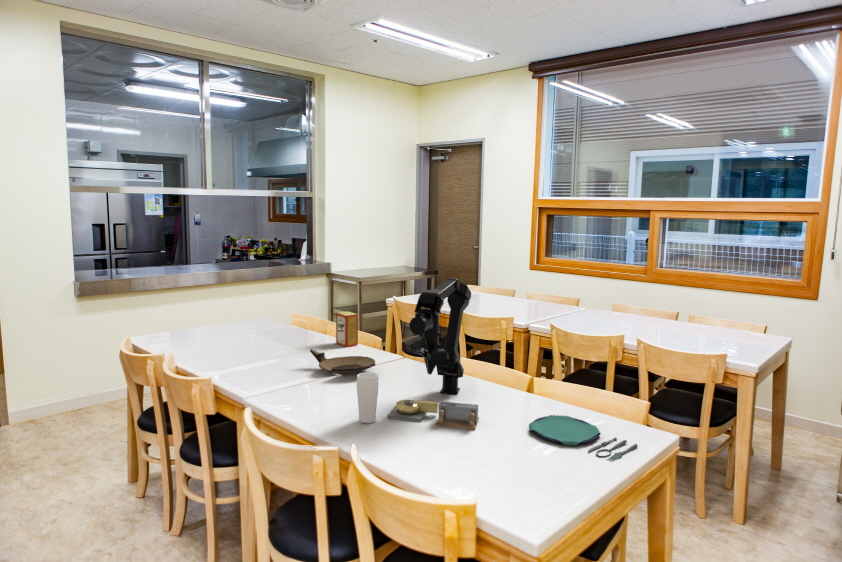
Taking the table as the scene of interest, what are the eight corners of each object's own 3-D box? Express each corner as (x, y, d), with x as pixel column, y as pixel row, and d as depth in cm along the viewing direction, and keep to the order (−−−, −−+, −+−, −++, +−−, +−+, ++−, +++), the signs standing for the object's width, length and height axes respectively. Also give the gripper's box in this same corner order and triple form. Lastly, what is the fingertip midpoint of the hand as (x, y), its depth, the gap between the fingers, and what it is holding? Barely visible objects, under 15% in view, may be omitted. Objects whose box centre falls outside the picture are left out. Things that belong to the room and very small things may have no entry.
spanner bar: (438, 420, 175) (438, 405, 175) (440, 416, 179) (441, 401, 178) (476, 424, 173) (476, 408, 172) (477, 419, 176) (478, 404, 176)
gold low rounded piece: (438, 408, 185) (439, 398, 185) (435, 416, 177) (435, 407, 177) (399, 405, 187) (399, 396, 187) (394, 413, 179) (394, 404, 179)
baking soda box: (357, 345, 273) (357, 313, 271) (346, 347, 269) (346, 314, 267) (347, 341, 280) (347, 310, 278) (336, 343, 276) (336, 312, 274)
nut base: (397, 406, 189) (397, 403, 189) (428, 409, 187) (428, 407, 187) (387, 418, 179) (387, 415, 178) (420, 421, 176) (421, 418, 176)
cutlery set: (556, 416, 183) (557, 409, 183) (642, 448, 161) (643, 441, 160) (517, 432, 170) (517, 424, 170) (604, 469, 148) (605, 461, 147)
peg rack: (442, 415, 182) (442, 401, 181) (478, 419, 179) (479, 405, 178) (436, 425, 173) (437, 411, 172) (474, 430, 170) (475, 415, 170)
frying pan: (341, 385, 211) (341, 366, 210) (301, 368, 233) (300, 350, 232) (387, 374, 226) (387, 356, 225) (345, 359, 248) (345, 342, 247)
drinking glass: (358, 426, 172) (358, 379, 170) (355, 418, 178) (355, 372, 176) (380, 424, 174) (380, 377, 172) (375, 416, 180) (376, 371, 178)
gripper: (399, 324, 192) (398, 368, 194) (416, 336, 175) (416, 384, 177) (429, 323, 196) (428, 366, 198) (449, 334, 179) (448, 381, 181)
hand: (429, 374), depth 188 cm, fingers closed
